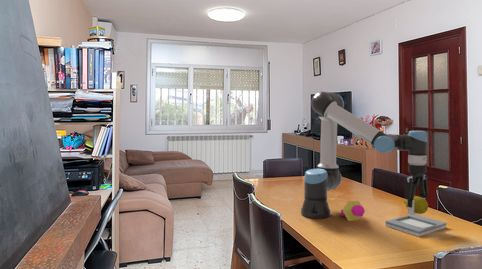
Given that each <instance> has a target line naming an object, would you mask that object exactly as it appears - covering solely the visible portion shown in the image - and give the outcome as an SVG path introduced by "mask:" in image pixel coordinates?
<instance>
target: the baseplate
mask: <svg viewBox="0 0 482 269" xmlns="http://www.w3.org/2000/svg"><path fill="white" fill-rule="evenodd" d="M384 224H385V225H384V226H385V227H388V228H391V229H394V230H397V231H400V232H404V233H407V234H410V235H412V236H416V237H421V236H422V237H423V236H424V235H429V234H430V233H433V232H436V231H440V230H444V229H445V228H447V222H444V221H442V220H438V219H434V218H430V217H427V216H423V215H420V214H417V213H414V215H412V214H406V215H404V216H400V217H396V218H392V219H388V220H385V222H384Z"/></svg>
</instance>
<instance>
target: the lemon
mask: <svg viewBox="0 0 482 269" xmlns="http://www.w3.org/2000/svg"><path fill="white" fill-rule="evenodd" d="M413 200H414V214H416V215H423V214H425V213H427V211H428V209H429V203H428V202H427V200H426V198H425V199H424V198H422V197H420V195H419V196H418V195H414V199H413ZM403 203H404V204H405V207H406V208H407V209H408V200H407V199H405V198H404V200H403Z"/></svg>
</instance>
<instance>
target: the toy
mask: <svg viewBox="0 0 482 269" xmlns="http://www.w3.org/2000/svg"><path fill="white" fill-rule="evenodd" d="M365 212H366V210H365V208H364V207H363V205H362V204H361V203H360V201H359V200H353V201H352V200H351V201H349V200H348V201H347V203H346V204H345V206H344V207H343V208H342V209H341V210H340V216H342V217H346V219H347V221H348V222H351V221H352V222H354V221H356V222H357V221H360V219H361V217H363V216H364V214H365Z"/></svg>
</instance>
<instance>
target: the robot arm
mask: <svg viewBox="0 0 482 269" xmlns="http://www.w3.org/2000/svg"><path fill="white" fill-rule="evenodd" d="M310 105H311V108H312V110H313V111H314V113H316V114H318V118H319V119H320V121H321V123H320V158H319V163H318V164H317V167H316V168H311V169H308V170H306V171H305V172H304V178H303V180H304V184H303V185H304V188H303V189H304V194H303V195H304V199H303V203H302V205H301V209H300V213H301V214H300V215H302V216H304V217H305V218H311V219H327V218H330V217H331V209H330V206H329V202H328V192H329V191H332V190H334V189H335V190H336V188H338V187H339V186H340V185H341V183H342V179H343V178H342V177H343V176H342V174H341V172H340V167H339V165H338V164H337V146H338V145H337V144H338V125H339V126H341V127H343V128H345V129H346V130H347V131H349V132H350V133H352V134H354V135H355V136H357V137H359V138H360V139H362V140H363V141H365V142H366V143H368V144H370V145H371V146H373V147H374V149H375V150H376V151H377V152H379V153H380V154H388V153H391V152H394V151H403V152H407V151H408V153H407V154H408V155H407V163H408V164H407V165H408V166H407V171H408V173H410V175H409V177H405V186H404V187H405V188H404V197H403V198H404V199H407V200H408V208H407V215H410V214H412V215H414V214H415V213H414V200H413V199H414V196H416V189H417V190H418V195H419V197H422V198H424V199H425V200H426V199H428V197H429V184H428V179H429V177H428V176H429V175H428V174H427V163H428V162H427V161H428V158H427V155H428V134H427V132H426V131H424V130H410V131H408V134H391V133H389V134H388V133H385V132H383V131H382V130H380V129H378V128H377V127H375V126H373V125H372V124H370V123H369V122H366V121H365V120H363V119H361V118H360V117H358V116H357V115H354V113H352V112H349V111H348V110H347V109H345V108H344V107H345V102H344V99H343V97H342V95H340V94H338V93H336V92H328V91H320V92H317V93H315V94H314V96H312V98H311V102H310Z"/></svg>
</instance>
